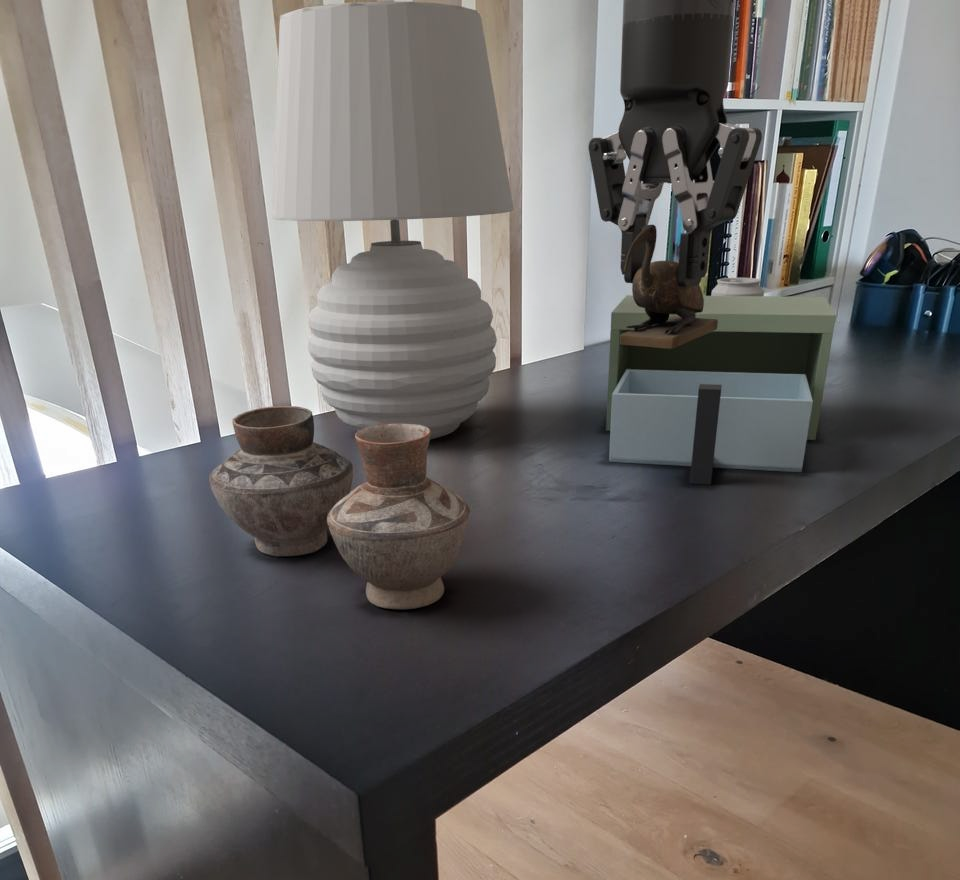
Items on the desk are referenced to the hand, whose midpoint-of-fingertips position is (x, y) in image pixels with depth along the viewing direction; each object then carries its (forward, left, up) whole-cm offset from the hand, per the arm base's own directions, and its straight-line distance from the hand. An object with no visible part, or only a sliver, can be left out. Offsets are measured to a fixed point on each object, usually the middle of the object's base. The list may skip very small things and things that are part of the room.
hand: (661, 282), depth 67 cm
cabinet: (+13, -30, -19) cm, 38 cm away
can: (+29, -60, -19) cm, 70 cm away
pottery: (+10, +26, -19) cm, 34 cm away
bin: (+5, -17, -19) cm, 26 cm away
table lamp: (+37, -3, -19) cm, 42 cm away
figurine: (0, 0, -5) cm, 5 cm away
